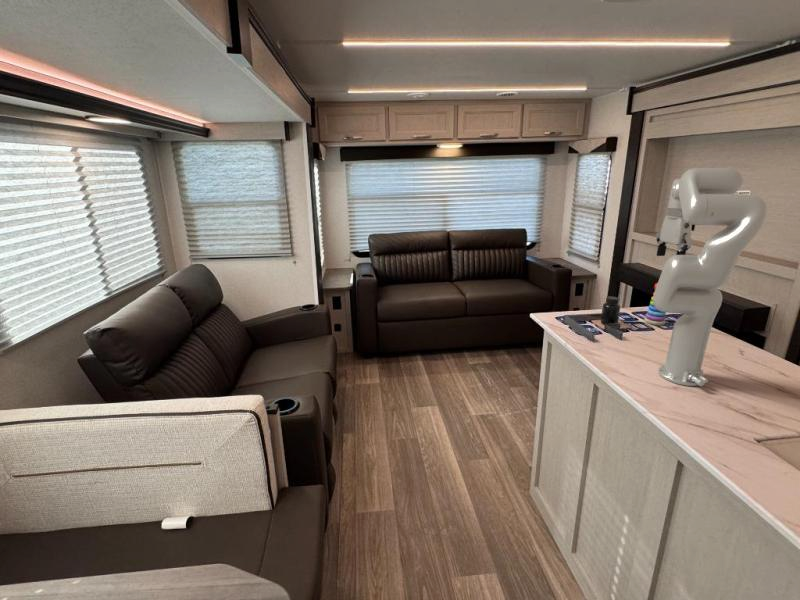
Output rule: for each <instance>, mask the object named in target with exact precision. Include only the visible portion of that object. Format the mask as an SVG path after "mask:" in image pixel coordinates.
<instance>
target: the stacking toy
mask: <svg viewBox="0 0 800 600" xmlns="http://www.w3.org/2000/svg"><path fill="white" fill-rule="evenodd" d="M657 284H658V282H656V283H655V284H654V286H653V288H654V290H655V289H656V287H657ZM652 295H653V296H654V292H653V294H652ZM653 296H651V299H650V302H649V306H648V308H647V311H646V312H647V313H645V317H644V319H643V320H644V323H646V324H648V325H652V326H663V325H665V324H666V314H667V312H661V311H659V310H657V309H656V308H655V307H654V305H653Z"/></svg>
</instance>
